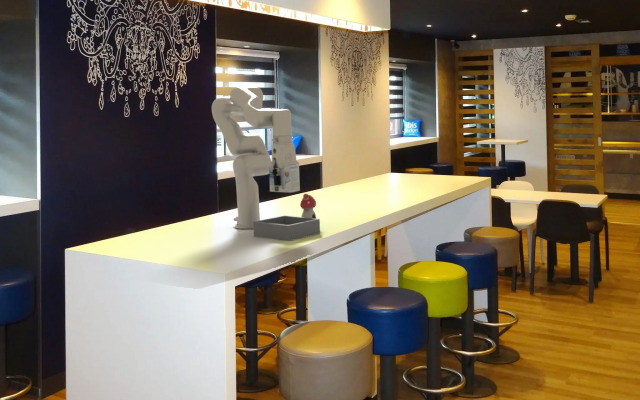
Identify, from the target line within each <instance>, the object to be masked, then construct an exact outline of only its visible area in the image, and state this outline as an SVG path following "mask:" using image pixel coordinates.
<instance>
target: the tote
mask: <svg viewBox="0 0 640 400" xmlns="http://www.w3.org/2000/svg"><path fill="white" fill-rule="evenodd" d="M253 226H254V228H253V237H255V238H256V237H258V238H263V239H264V238H265V239H274V240H278V241H288V242H290V241H294V240H299V239H303V238H306V237H307V238H308V237H311V236H316V235H320V234H321V219H320V218H316V219H315V218H305V217H302V216H295V215H285V214H284V215H280V216H275V217H270V218H266V219H260V220H259V221H254V222H253Z"/></svg>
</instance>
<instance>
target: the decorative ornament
mask: <svg viewBox="0 0 640 400" xmlns="http://www.w3.org/2000/svg"><path fill="white" fill-rule="evenodd" d="M299 206H300V208H301V209H302V213H301V217H305V218H315V219H317V216H316V213H315V210H314V208H316V207H317V201H316V199H315V198H314V197H313V196H312V195H310V194H309V193H303V195H302V199H301V201H300V204H299Z"/></svg>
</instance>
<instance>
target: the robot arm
mask: <svg viewBox="0 0 640 400" xmlns="http://www.w3.org/2000/svg"><path fill="white" fill-rule="evenodd" d="M263 101H264V93H263V91H262V89H261V88H260V87H258V86H256V85H249V86H248V85H242V86H236V87H234V88H232V89H231V91H230V93H229V96H222V97H221V96H220V97H218V98H216V99H214V101H212V104H211V113H212V114H211V115H212V118H213V120H214V122H215V124H216V125H217V127H218V129H219V130H220V132H221V134H222V136H223V139H224V141H225V143H226V147H227V148H228V150H229V153H230V154H231V155H232V156H234V157H235V159H233V162H232V170H233V174H234V179H235V187H236V188H235V189H236V203H237V205H236V206H237V216H236V217H234V218H233V221H234V222H237V223H235V225H234V227H235V229H240V230H244V229H245V230H246V229H248V230H250V229H251V230H252V229H254V226H253V222H254V221H259V220H261V218H260V217H261V214H260V213H261V212H260V197H259V195H260V193H259V185H258V182H257V181H256V180H255V179H254V177H258V176H266V175H269V169H270V170H271V173H272V175H273V176H274V185H275V186H280V185H281V176H279V174H280V171H281V169H284V166H286V165H292V164H299V162H298V161H297V153H296V148H295V147H296V146H295V144H294V143H293V135H292V134H293V133H292V132H293V131H292V129H293V127H292V114H291V113H292V111H291V110H290V109H288V108H284V109H283V108H281V109H279V108H272V109H271V108H265V109H263ZM231 116H234V117H235V116H243V117H244V118H243V119H244V120H245V121H246V123H247V124H249V125H250V126H251V127H253V128H255V129H272V139H271V140H272V143H273V144H272V145H271V146H272V148H271V157H270V154H269V151H268V150H267V149H268V148H267V147H266V144H265V142H264V141H263V138H262V137H261V136H260V135H259V134H257V133H244V131H243V130H242V128H241V125H240V124H239V123H238V121H236V120H235V119H234V118H232V117H231ZM299 165H300V164H299ZM274 166H275V167H274ZM276 166H277V167H278V168H276Z"/></svg>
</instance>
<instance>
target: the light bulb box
mask: <svg viewBox="0 0 640 400" xmlns="http://www.w3.org/2000/svg"><path fill="white" fill-rule="evenodd" d="M274 167H275V166H274ZM276 168H278V167H277V166H276ZM268 175H269V192H273V193H296V192H300V191H301V185H300V184H301V183H300V164H292V165H286V166H284V169H281V171H280V174H279V176H281V185H280V186H275V185H274V176H273V175H272V173H271V170H270V169H269V174H268Z"/></svg>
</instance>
